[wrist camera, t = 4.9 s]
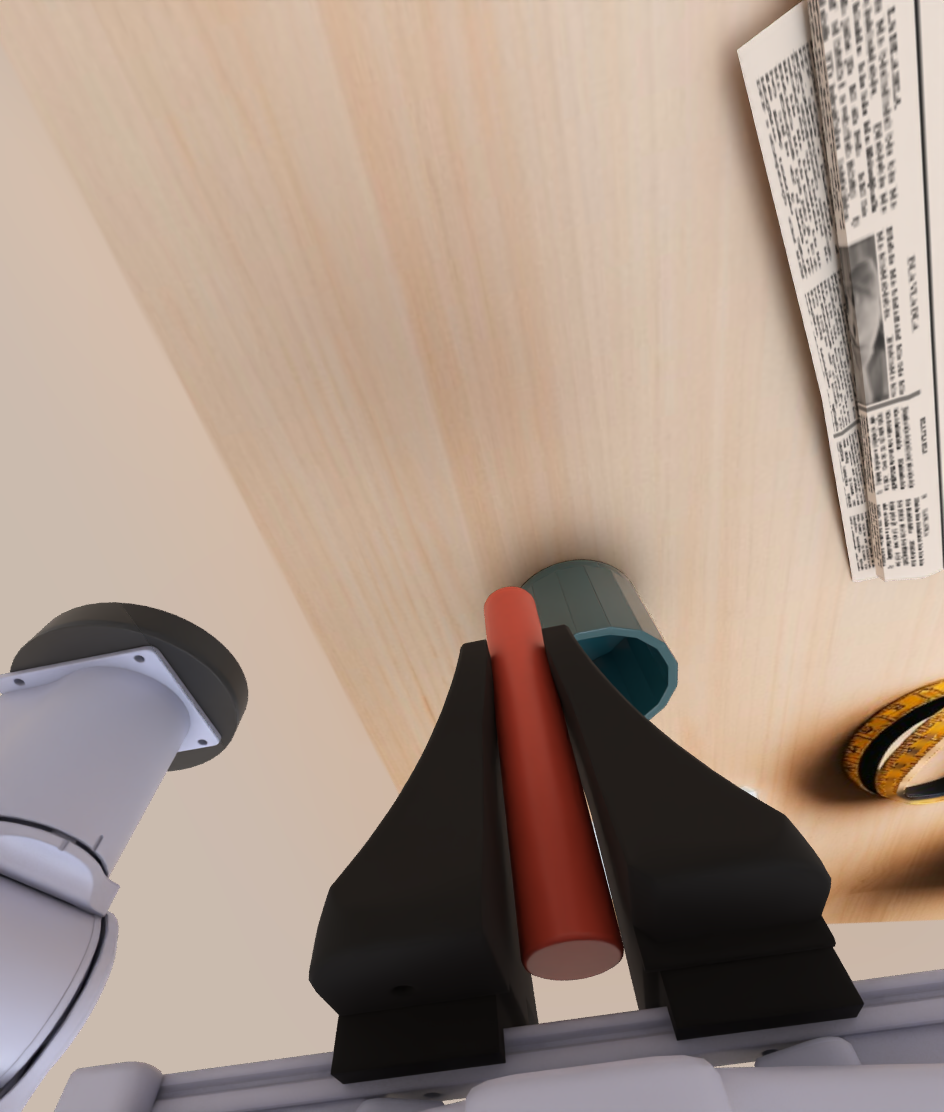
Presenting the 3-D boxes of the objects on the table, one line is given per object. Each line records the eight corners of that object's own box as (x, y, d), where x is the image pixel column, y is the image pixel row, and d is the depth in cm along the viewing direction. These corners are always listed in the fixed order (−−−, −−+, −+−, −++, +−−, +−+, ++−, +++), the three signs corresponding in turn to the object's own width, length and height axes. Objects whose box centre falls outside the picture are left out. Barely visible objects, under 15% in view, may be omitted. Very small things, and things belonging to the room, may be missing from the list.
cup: (519, 671, 26) (533, 750, 22) (498, 573, 23) (510, 645, 19) (638, 649, 26) (677, 726, 22) (635, 547, 22) (679, 613, 18)
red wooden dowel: (489, 630, 16) (529, 988, 8) (478, 591, 15) (513, 946, 7) (538, 621, 16) (627, 974, 8) (530, 580, 15) (622, 931, 7)
